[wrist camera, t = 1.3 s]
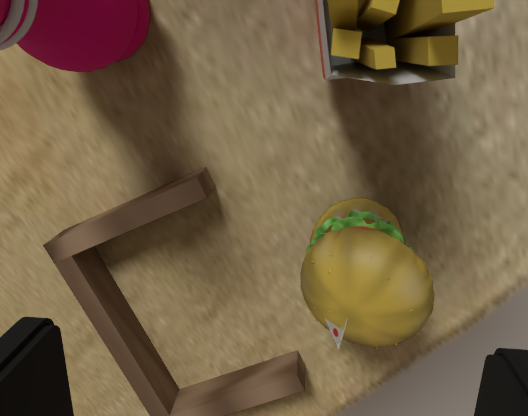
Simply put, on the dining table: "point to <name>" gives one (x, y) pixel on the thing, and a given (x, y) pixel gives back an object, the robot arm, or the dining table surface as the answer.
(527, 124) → the dining table surface
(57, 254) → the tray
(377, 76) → the french fries container
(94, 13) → the pepper mill
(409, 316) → the hamburger
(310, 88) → the dining table surface
